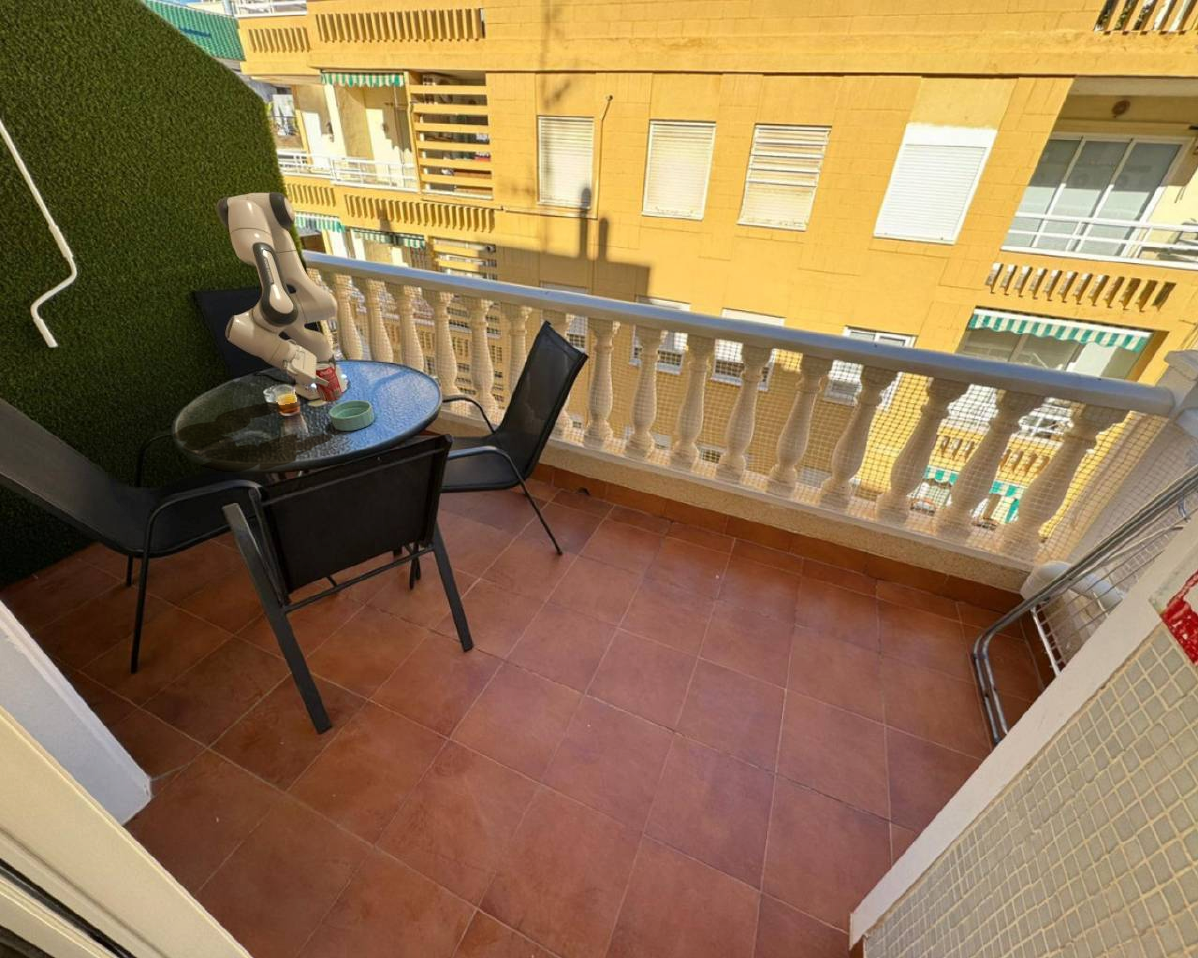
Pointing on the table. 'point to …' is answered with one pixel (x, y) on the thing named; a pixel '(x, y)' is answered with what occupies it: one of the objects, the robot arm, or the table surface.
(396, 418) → the table surface
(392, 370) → the table surface
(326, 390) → the soda can
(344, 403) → the bowl
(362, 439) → the table surface
